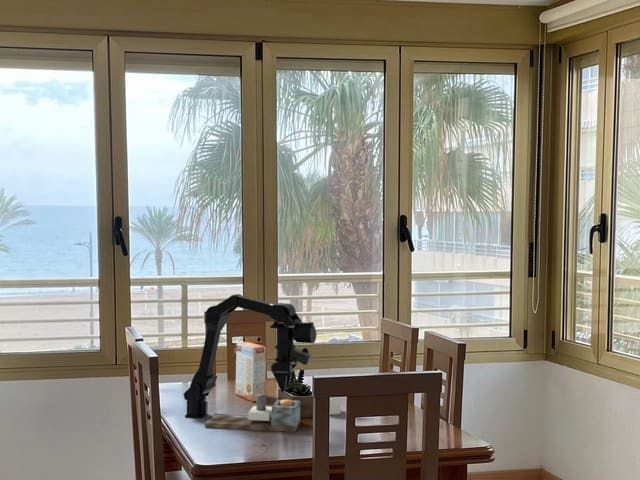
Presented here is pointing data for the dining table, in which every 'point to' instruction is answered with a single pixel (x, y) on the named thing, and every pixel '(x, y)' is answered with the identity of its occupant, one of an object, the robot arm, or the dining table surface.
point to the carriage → (260, 409)
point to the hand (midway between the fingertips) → (285, 388)
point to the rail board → (280, 420)
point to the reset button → (286, 402)
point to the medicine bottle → (335, 406)
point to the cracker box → (250, 370)
